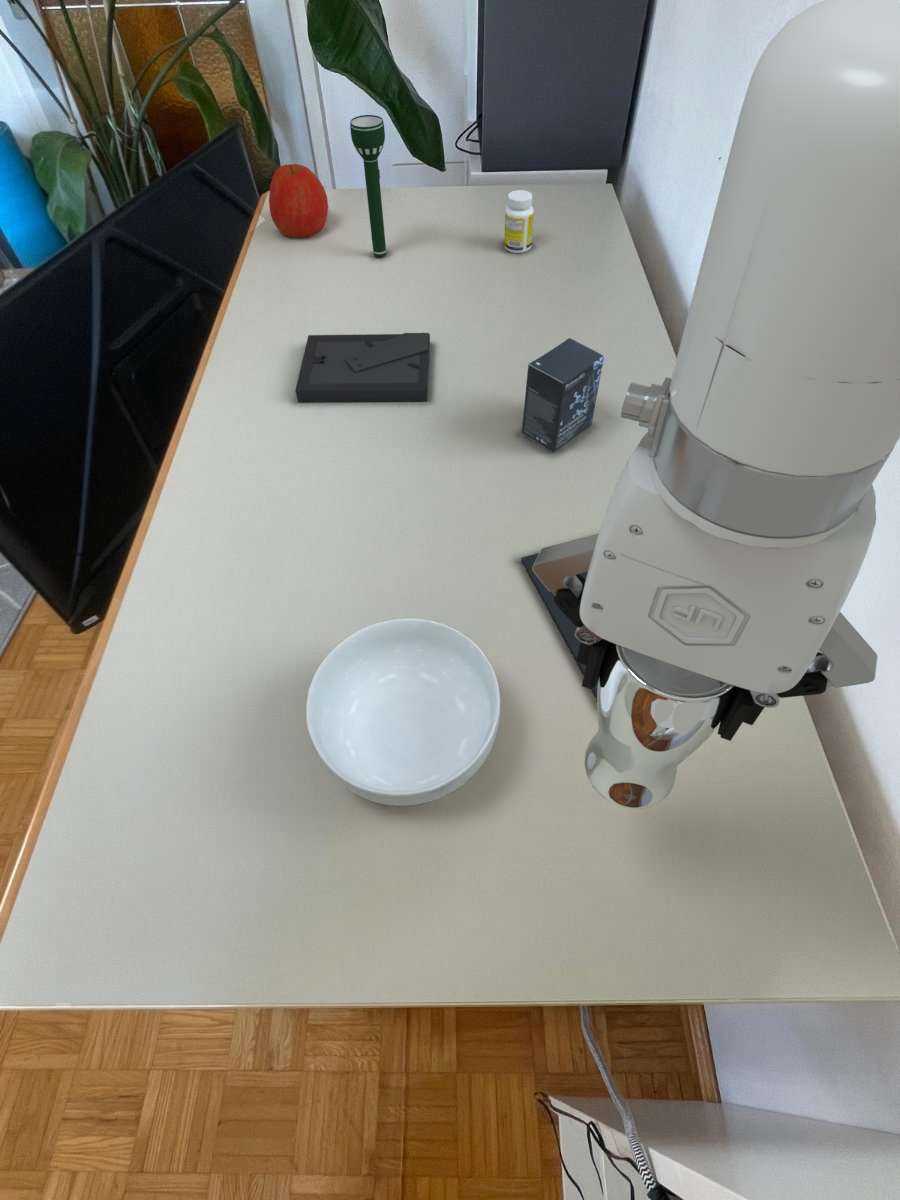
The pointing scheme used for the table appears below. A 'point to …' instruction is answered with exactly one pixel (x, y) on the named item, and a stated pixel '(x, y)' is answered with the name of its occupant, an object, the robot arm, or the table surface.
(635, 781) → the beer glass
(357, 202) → the table surface
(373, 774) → the cereal bowl
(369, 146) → the flashlight
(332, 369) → the picture frame
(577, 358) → the box
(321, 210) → the apple
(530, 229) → the supplement bottle
